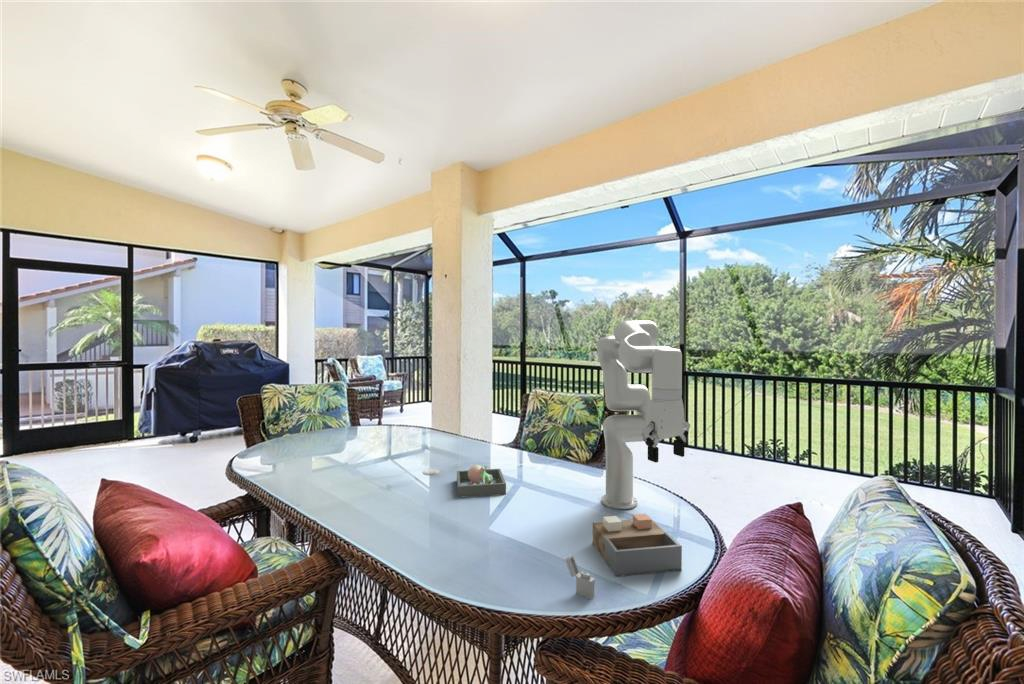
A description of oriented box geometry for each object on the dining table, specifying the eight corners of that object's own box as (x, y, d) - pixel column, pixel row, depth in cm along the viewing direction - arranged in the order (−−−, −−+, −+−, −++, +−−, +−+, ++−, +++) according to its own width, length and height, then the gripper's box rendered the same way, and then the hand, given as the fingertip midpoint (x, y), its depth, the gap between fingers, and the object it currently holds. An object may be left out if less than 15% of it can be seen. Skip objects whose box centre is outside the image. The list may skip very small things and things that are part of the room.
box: (604, 560, 123) (604, 537, 123) (666, 554, 126) (666, 532, 126) (615, 576, 115) (615, 551, 115) (681, 570, 118) (681, 546, 118)
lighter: (594, 596, 107) (594, 563, 107) (591, 599, 106) (591, 566, 106) (568, 585, 112) (568, 554, 111) (565, 589, 110) (565, 556, 110)
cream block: (603, 525, 131) (603, 516, 131) (616, 524, 132) (616, 515, 132) (608, 531, 127) (608, 522, 127) (621, 530, 128) (621, 521, 128)
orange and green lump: (490, 478, 172) (502, 474, 179) (474, 458, 176) (487, 455, 184) (472, 499, 175) (485, 494, 183) (457, 479, 179) (471, 475, 187)
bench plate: (592, 542, 133) (592, 522, 133) (650, 538, 136) (650, 518, 135) (604, 560, 123) (604, 538, 123) (666, 554, 126) (666, 533, 126)
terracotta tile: (632, 522, 133) (632, 514, 132) (645, 521, 133) (645, 513, 133) (638, 529, 129) (638, 520, 128) (651, 528, 129) (651, 519, 129)
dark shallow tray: (456, 480, 187) (456, 471, 187) (500, 478, 189) (500, 468, 189) (458, 497, 169) (458, 486, 169) (506, 494, 172) (505, 483, 171)
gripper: (678, 390, 128) (677, 450, 128) (632, 395, 119) (631, 459, 120) (700, 393, 121) (699, 457, 122) (653, 399, 113) (653, 467, 113)
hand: (666, 458), depth 121 cm, fingers open, 9 cm apart
